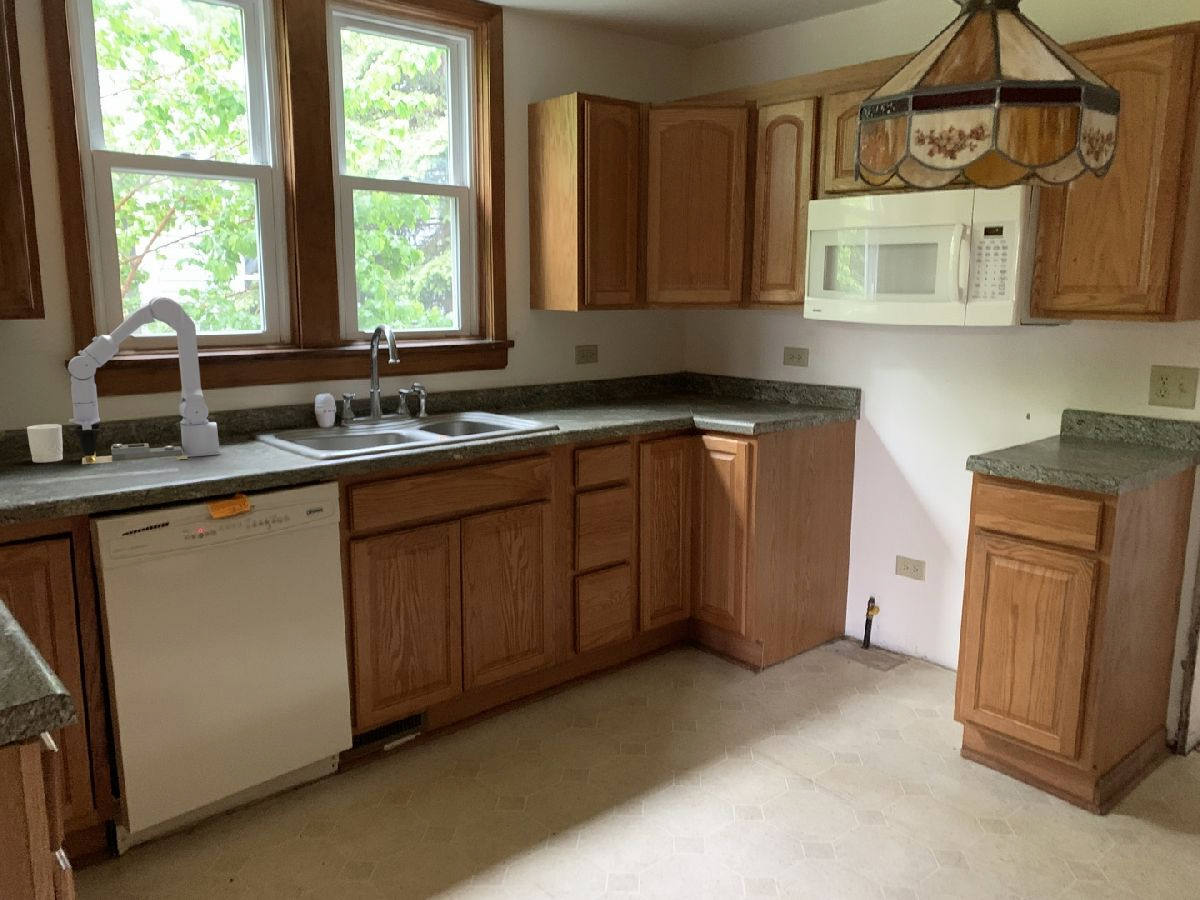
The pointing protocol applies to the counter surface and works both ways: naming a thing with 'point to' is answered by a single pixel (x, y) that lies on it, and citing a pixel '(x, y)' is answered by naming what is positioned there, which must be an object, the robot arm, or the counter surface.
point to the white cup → (45, 442)
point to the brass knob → (90, 458)
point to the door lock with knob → (138, 453)
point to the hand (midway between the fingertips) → (89, 453)
